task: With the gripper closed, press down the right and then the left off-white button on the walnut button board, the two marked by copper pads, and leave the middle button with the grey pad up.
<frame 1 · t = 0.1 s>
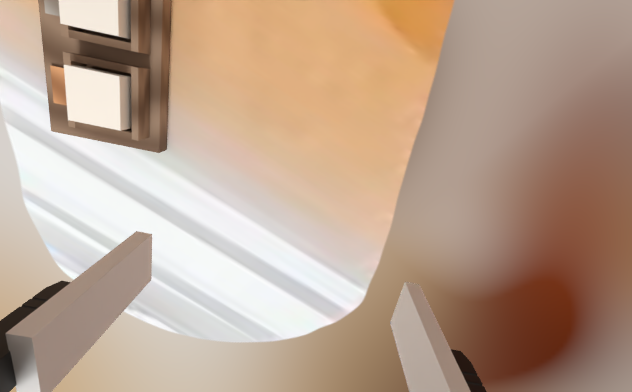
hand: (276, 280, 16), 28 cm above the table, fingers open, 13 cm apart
button middle: (96, 0, 32), point 5 cm above the table, slide at 0.0 cm
button board: (112, 8, 36), on the table
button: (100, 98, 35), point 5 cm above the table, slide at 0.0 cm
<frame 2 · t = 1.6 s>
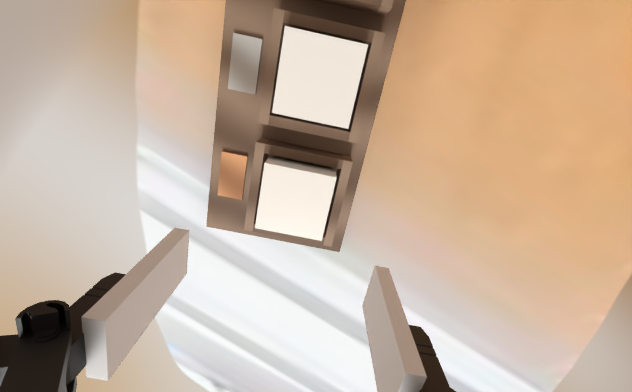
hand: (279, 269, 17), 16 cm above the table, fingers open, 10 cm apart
button middle: (318, 80, 23), point 5 cm above the table, slide at 0.0 cm
button board: (303, 77, 28), on the table
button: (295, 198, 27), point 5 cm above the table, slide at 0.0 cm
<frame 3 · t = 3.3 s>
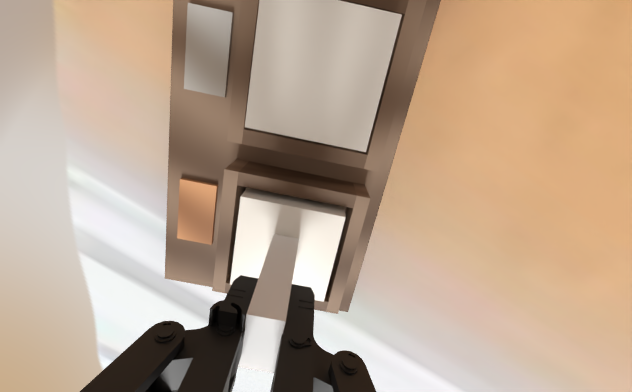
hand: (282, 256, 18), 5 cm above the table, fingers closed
button middle: (318, 75, 15), point 5 cm above the table, slide at 0.0 cm
button board: (297, 72, 19), on the table
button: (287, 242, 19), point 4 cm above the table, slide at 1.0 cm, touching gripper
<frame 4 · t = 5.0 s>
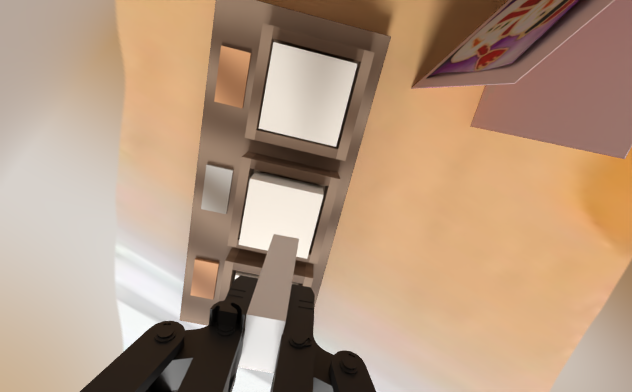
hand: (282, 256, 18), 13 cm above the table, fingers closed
button middle: (281, 215, 26), point 5 cm above the table, slide at 0.0 cm
button board: (271, 193, 31), on the table
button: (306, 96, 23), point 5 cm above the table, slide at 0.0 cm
greeting card: (480, 66, 27), on the table
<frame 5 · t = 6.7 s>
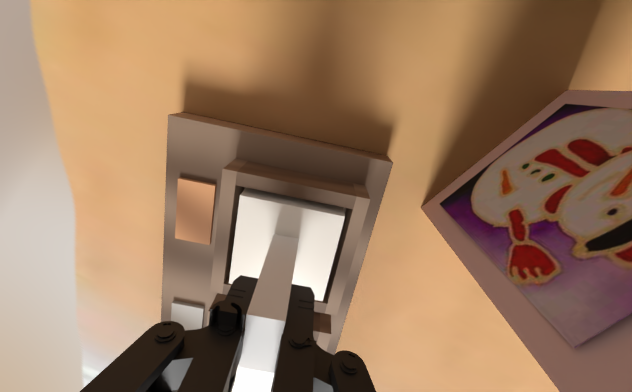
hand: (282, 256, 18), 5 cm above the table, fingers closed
button middle: (260, 371, 21), point 5 cm above the table, slide at 0.0 cm
button board: (254, 318, 26), on the table
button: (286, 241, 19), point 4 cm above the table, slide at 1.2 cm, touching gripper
greeting card: (509, 180, 21), on the table, touching arm
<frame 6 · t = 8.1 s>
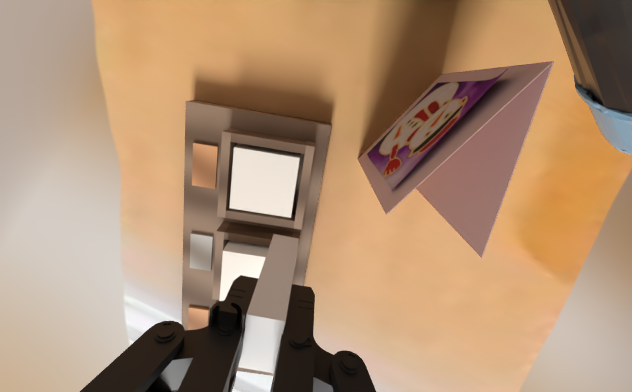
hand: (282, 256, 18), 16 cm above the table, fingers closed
button middle: (253, 274, 32), point 5 cm above the table, slide at 0.0 cm
button board: (249, 249, 36), on the table
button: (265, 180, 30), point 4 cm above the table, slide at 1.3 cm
greeting card: (415, 137, 32), on the table
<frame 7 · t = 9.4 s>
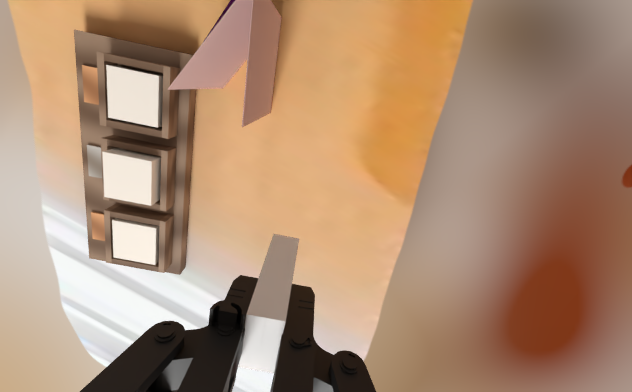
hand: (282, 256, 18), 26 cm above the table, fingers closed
button middle: (133, 176, 39), point 5 cm above the table, slide at 0.0 cm
button board: (142, 165, 44), on the table
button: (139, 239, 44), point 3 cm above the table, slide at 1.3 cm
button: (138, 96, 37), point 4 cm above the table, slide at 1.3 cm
greeting card: (268, 71, 39), on the table
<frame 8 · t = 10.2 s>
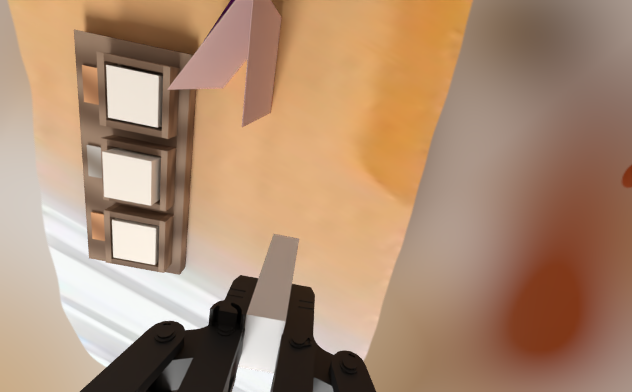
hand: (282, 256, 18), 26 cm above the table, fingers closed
button middle: (132, 176, 39), point 5 cm above the table, slide at 0.0 cm
button board: (142, 165, 44), on the table
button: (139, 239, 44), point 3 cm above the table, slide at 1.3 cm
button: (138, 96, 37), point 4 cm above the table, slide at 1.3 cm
greeting card: (268, 71, 39), on the table
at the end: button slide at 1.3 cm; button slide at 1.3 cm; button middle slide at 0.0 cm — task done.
